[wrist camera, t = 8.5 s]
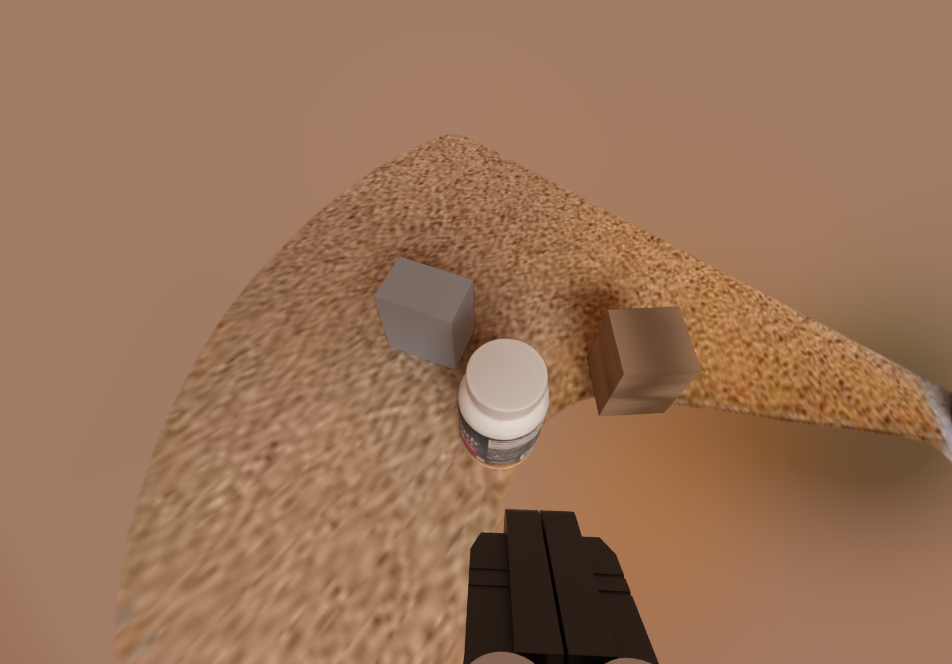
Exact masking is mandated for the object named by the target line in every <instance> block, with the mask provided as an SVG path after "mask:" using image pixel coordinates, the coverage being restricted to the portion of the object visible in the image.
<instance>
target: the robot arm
mask: <svg viewBox="0 0 952 664" xmlns="http://www.w3.org/2000/svg"><path fill="white" fill-rule="evenodd" d="M463 664H659V663H658V661H657V658H656V656H655V653H654V650H653V648H652V645H651V643H650V640H649V638H648V635H647V633H646V630H645V628H644V625H643V622H642V620H641V617H640V615H639V612H638V610H637V607H636V605H635V602H634V600H633V597H632V596H631V594H630V589H629V587H628V584H627V582H626V579H624V574H623V572H622V569H621V566H620V564H619V561H618V559H617V556H616V554H615V553H614V552H613V551H612V550H611V549H610V548H609V547H608V546H607V545H606V544H605V543H604V542H603V541H602V540H601V538H599V537H582V536H581V532H580V529H579V526H578V522H577V519H576V516H575V513H574V512H568V511H544V510H540V513H539V511H538V510H518V509H505V518H504V533H484V532H481V533H480V535H479V536H478V538H477V539H476V541H475V542H474V544H473V545H472V547H471V549H470V566H469V584H468V601H467V618H466V635H465V653H464V661H463Z"/></svg>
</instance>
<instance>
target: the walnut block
mask: <svg viewBox="0 0 952 664" xmlns="http://www.w3.org/2000/svg"><path fill="white" fill-rule="evenodd" d="M587 360H588V365H589V370H590V375H591V380H592V384H593V389H594V394H595V399H596V404H597V409H598V413H599V416H612V415H632V414H652V413H664V412H665V411H666V410H667V409H668V408H669V406H670V405H671V404H672V403H673V402H674V401H675V400H676V399H677V397H678V396H679V395H680V394H681V393H682V392H683V391H684V390H685V388H686V387H687V386H688V385H689V384H690V383H691V382H692V381H693V379H694V378H695V377H696V376H697V375H698V374H699V373H700V372H701V367H700V364H699V362H698V359H697V356H696V353H695V350H694V347H693V345H692V342H691V339H690V336H689V333H688V331H687V328H686V325H685V322H684V319H683V317H682V314H681V311H680V308H679V307H657V308H634V309H611V310H607V313H606V315H605V317H604V320H603V322H602V325H601V327H600V329H599V332H598V334H597V336H596V339H595V341H594V344H593V346H592V348H591V351H590V353H589V356H588V358H587Z"/></svg>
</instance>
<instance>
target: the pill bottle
mask: <svg viewBox="0 0 952 664" xmlns="http://www.w3.org/2000/svg"><path fill="white" fill-rule="evenodd" d="M547 381H548V374H547V368H546V365H545V362H544V360H543V359H542V357H541V356H540V354H539V353H538V352H537V351H536V350H535V349H534V348H532V347H531V346H529V345H528V344H526V343H524V342H521V341H519V340H515V339H496V340H492V341H489V342H487V343H485V344H483V345H482V346H481V347H479V348H478V349H477V350H476V351H475V352H474V353H473V354H472V356H471V357H470V359H469V361H468V364H467V368H466V373H465V375H464V377H463V378H462V381H461V383H460V386H459V391H458V408H459V421H460V435H461V440H462V443H463V446H464V448H465V450H466V451H467V453H468V454H469V455H470V456H471V457H472V458H473V459H474V460H475V461H476V462H478V463H479V464H481V465H483V466H485V467H489V468H493V469H506V468H510V467H513V466H515V465H518V464H519V463H521V462H522V461H524V460H525V459H526V458H527V457H528V456H529V455H530V453H531V452H532V450H533V448H534V446H535V444H536V441H537V438H538V436H539V433H540V430H541V427H542V424H543V421H544V418H545V416H546V413H547V410H548V406H549V390H548V386H547Z"/></svg>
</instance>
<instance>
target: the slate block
mask: <svg viewBox="0 0 952 664" xmlns="http://www.w3.org/2000/svg"><path fill="white" fill-rule="evenodd" d="M374 299H375V302H376V305H377V309H378V312H379V315H380V318H381V321H382V324H383V328H384V331H385V334H386V337H387V340H388V343H389V346H390V347H393V348H396V349H398V350H401V351H404V352H407V353H409V354H412V355H415V356H418V357H420V358H423V359H426V360H429V361H431V362H434V363H437V364H440V365H443V366H445V367H448V368H451V369H454V370H456V368H457V366H458V364H459V362H460V360H461V358H462V355H463V353H464V351H465V349H466V347H467V345H468V343H469V341H470V339H471V337H472V335H473V333H474V280H473V279H470V278H466V277H463V276H460V275H457V274H454V273H451V272H447V271H444V270H441V269H438V268H435V267H432V266H428V265H425V264H422V263H419V262H416V261H412V260H409V259H406V258H403V257H400V256H399V258H398V259H397V261H396V262H395V264H394V265H393V267H392V269H391V270H390V272H389V273H388V275H387V276H386V278H385V279H384V281H383V282H382V284H381V285H380V287H379V289H378V290H377V292H376V293H375V295H374Z"/></svg>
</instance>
